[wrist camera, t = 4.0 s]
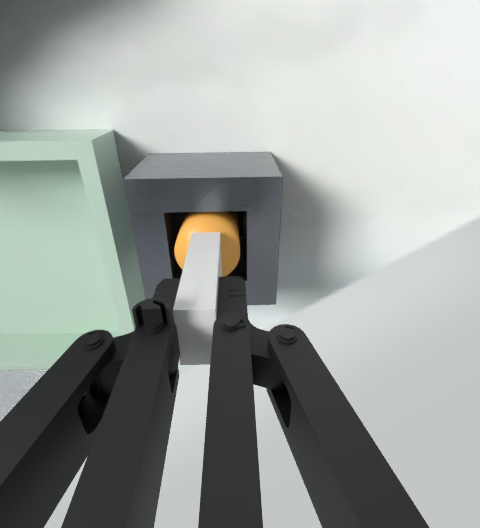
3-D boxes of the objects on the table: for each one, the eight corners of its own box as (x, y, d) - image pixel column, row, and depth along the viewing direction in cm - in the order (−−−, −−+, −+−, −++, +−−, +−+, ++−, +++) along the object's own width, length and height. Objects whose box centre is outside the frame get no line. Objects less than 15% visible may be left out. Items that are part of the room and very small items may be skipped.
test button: (187, 242, 23) (177, 281, 19) (182, 192, 21) (170, 223, 17) (238, 241, 23) (240, 279, 19) (238, 192, 21) (239, 221, 17)
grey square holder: (164, 259, 26) (147, 307, 20) (148, 153, 22) (122, 179, 16) (266, 257, 26) (275, 304, 20) (270, 151, 22) (283, 176, 16)
